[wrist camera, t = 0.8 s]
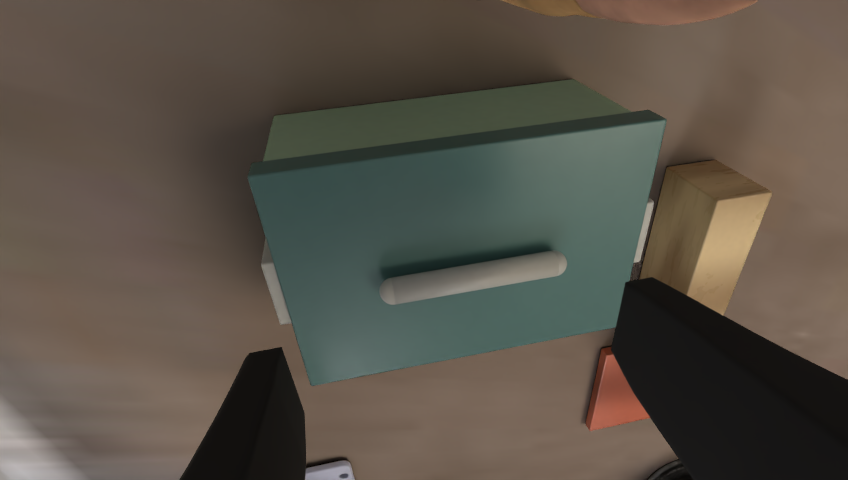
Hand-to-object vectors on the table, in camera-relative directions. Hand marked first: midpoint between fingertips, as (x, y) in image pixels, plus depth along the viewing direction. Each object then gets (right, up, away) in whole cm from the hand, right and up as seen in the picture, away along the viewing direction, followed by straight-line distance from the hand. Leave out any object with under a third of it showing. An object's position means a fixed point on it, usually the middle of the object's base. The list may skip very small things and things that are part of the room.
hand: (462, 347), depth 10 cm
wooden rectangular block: (+12, -2, +16) cm, 20 cm away
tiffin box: (0, +4, +9) cm, 10 cm away
